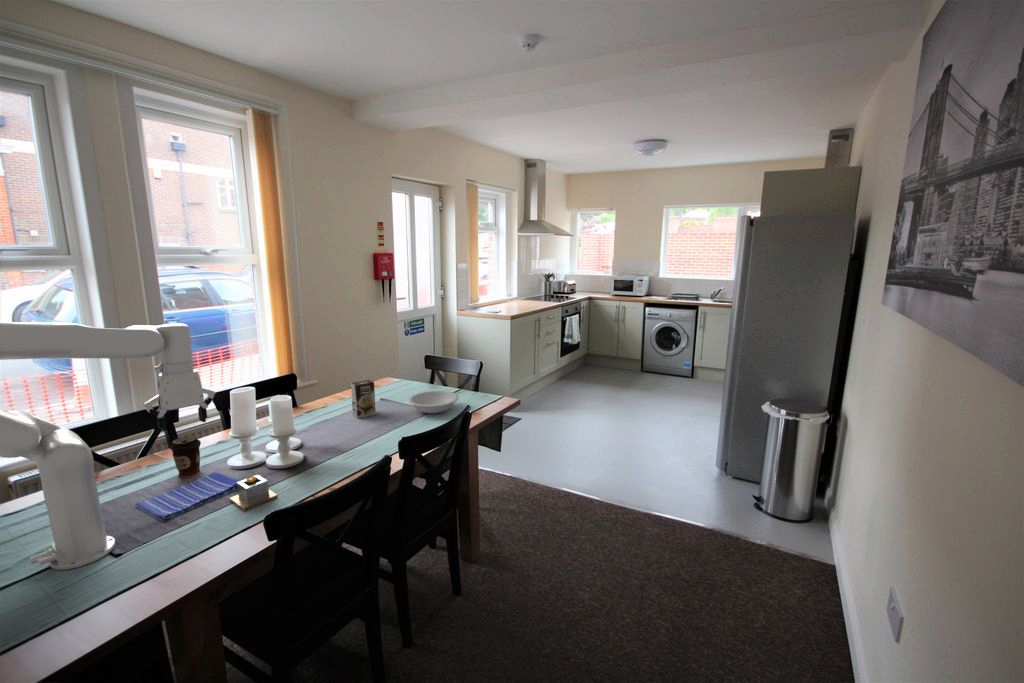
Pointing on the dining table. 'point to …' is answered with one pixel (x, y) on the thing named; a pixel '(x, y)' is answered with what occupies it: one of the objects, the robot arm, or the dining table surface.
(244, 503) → the post
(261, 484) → the white box block
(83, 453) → the robot arm
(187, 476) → the coffee cup
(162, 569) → the dining table surface
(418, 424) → the dining table surface
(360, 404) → the coffee box
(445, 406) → the soup bowl
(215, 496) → the dish towel
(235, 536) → the dining table surface
